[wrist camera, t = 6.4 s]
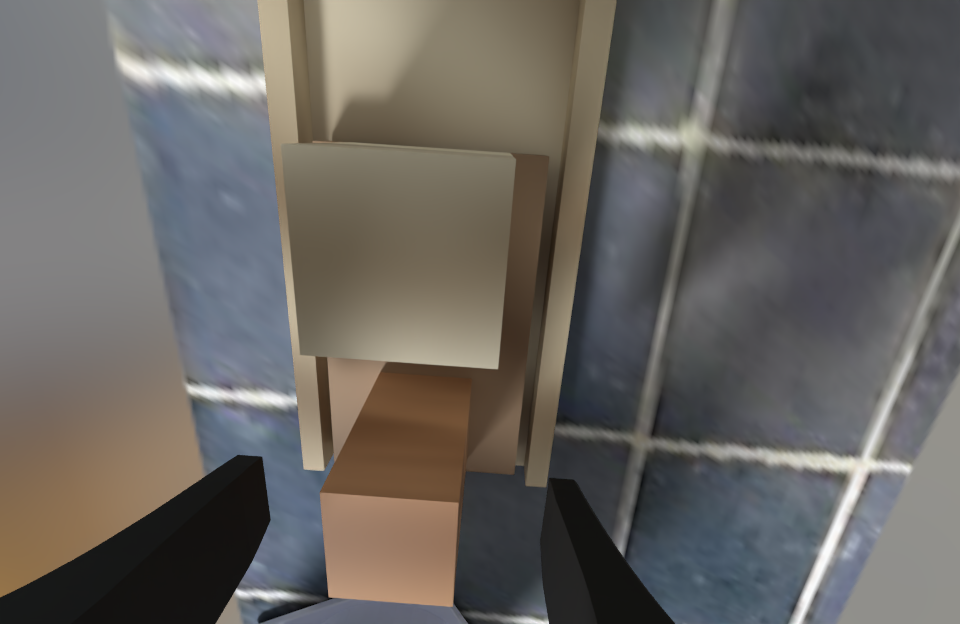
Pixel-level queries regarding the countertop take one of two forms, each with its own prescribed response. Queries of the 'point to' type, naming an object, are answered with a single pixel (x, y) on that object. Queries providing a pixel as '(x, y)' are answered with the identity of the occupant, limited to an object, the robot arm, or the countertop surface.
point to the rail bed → (449, 139)
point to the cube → (399, 251)
